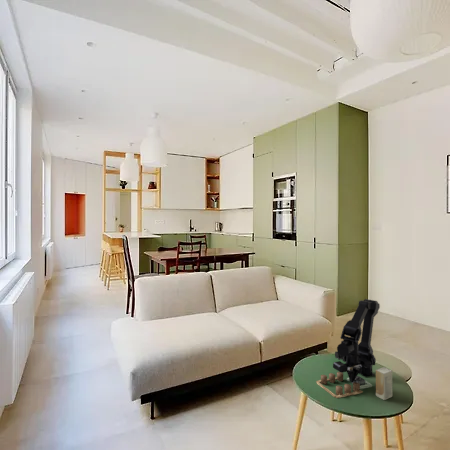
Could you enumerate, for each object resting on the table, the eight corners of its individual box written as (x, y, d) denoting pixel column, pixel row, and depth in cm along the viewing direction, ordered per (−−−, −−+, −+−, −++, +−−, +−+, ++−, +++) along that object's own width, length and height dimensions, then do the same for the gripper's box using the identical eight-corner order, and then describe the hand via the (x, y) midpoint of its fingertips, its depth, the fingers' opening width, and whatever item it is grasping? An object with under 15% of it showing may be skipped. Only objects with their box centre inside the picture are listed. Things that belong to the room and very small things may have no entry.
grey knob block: (358, 381, 151) (358, 375, 151) (365, 386, 146) (365, 379, 146) (351, 383, 149) (351, 376, 149) (357, 387, 145) (357, 380, 145)
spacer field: (340, 377, 154) (340, 370, 154) (362, 392, 140) (362, 385, 140) (315, 382, 149) (315, 375, 149) (335, 398, 135) (336, 390, 135)
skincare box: (383, 392, 141) (384, 366, 141) (392, 397, 137) (392, 370, 137) (375, 395, 138) (375, 369, 138) (383, 400, 134) (383, 373, 134)
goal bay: (357, 377, 154) (357, 376, 154) (371, 386, 146) (371, 384, 146) (347, 380, 152) (347, 378, 152) (360, 389, 143) (360, 386, 143)
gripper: (354, 342, 158) (354, 372, 158) (325, 346, 152) (325, 377, 152) (371, 350, 148) (371, 382, 148) (341, 355, 142) (340, 388, 141)
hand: (351, 382), depth 147 cm, fingers closed
